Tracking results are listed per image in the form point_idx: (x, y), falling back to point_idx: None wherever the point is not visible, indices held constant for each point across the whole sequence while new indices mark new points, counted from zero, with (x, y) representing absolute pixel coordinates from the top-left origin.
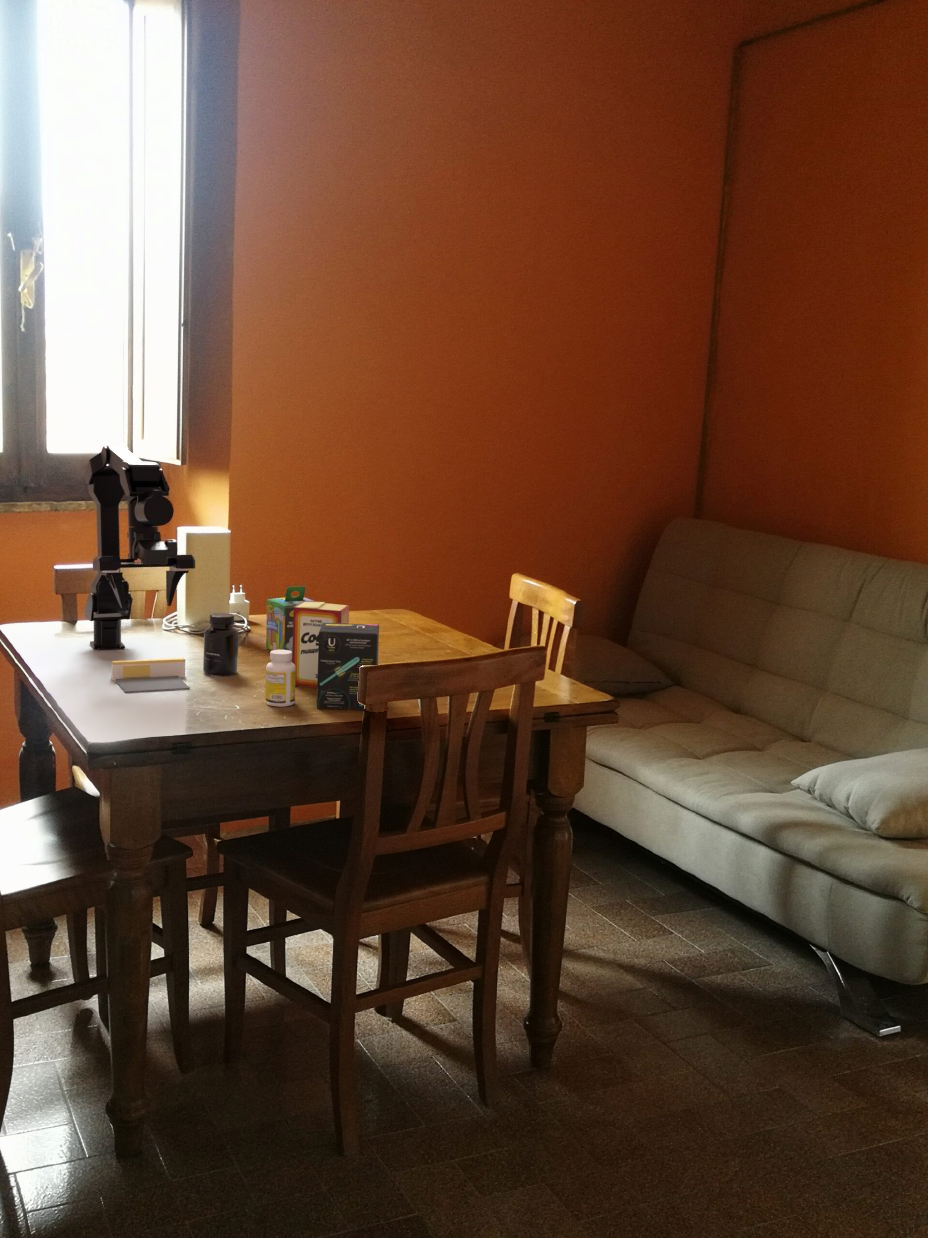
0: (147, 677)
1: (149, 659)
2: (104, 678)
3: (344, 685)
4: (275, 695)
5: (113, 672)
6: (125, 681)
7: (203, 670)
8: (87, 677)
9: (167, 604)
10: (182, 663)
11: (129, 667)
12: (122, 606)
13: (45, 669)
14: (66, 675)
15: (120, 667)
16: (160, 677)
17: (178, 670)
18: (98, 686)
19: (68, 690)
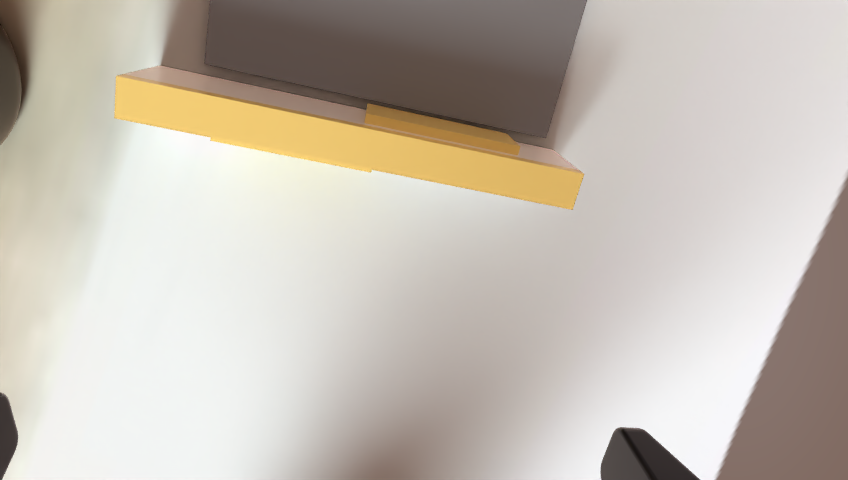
0: (382, 97)
1: (349, 162)
2: None
3: None
4: None
5: (561, 158)
6: (527, 60)
7: (19, 98)
8: (626, 252)
9: (8, 449)
10: (148, 77)
11: (484, 138)
12: (645, 436)
13: (700, 442)
14: (684, 320)
15: (531, 156)
16: (315, 67)
17: (189, 78)
18: (675, 53)
19: (839, 36)
